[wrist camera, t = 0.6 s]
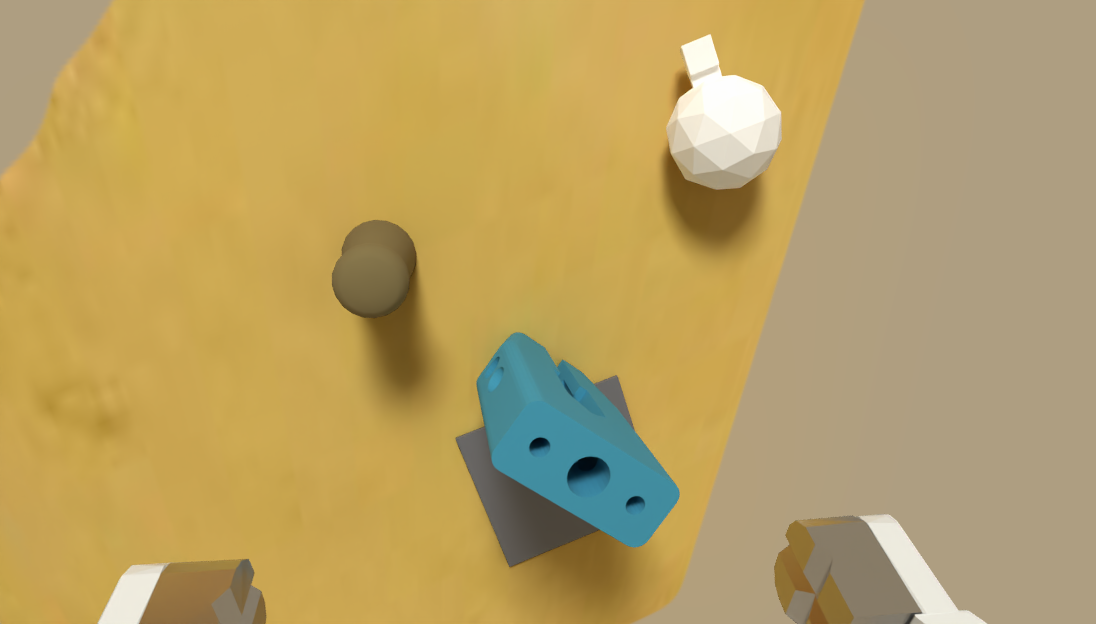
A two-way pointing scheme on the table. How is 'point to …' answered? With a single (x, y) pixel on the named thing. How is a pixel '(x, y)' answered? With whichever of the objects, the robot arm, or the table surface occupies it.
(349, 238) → the cork
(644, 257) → the table surface
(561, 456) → the block
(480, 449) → the mat
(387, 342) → the table surface
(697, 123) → the white faceted ball
